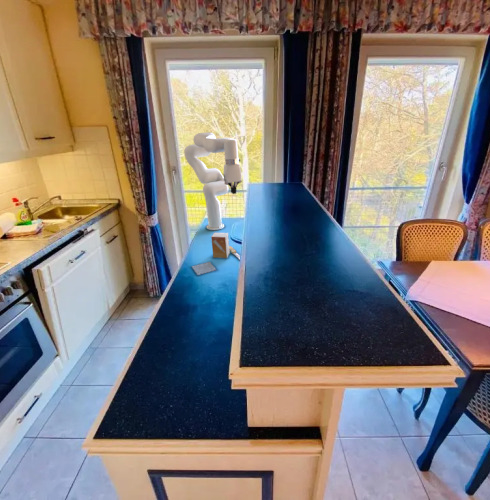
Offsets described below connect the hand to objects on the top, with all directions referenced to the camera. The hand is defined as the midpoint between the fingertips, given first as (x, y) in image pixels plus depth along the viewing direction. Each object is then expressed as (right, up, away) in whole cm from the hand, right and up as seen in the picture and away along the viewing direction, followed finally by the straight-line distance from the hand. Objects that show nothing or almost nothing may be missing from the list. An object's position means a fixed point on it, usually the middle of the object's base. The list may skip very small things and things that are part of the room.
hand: (233, 193), depth 169 cm
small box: (-6, -38, -10) cm, 40 cm away
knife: (+1, -36, -9) cm, 38 cm away
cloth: (-14, -44, -23) cm, 52 cm away
